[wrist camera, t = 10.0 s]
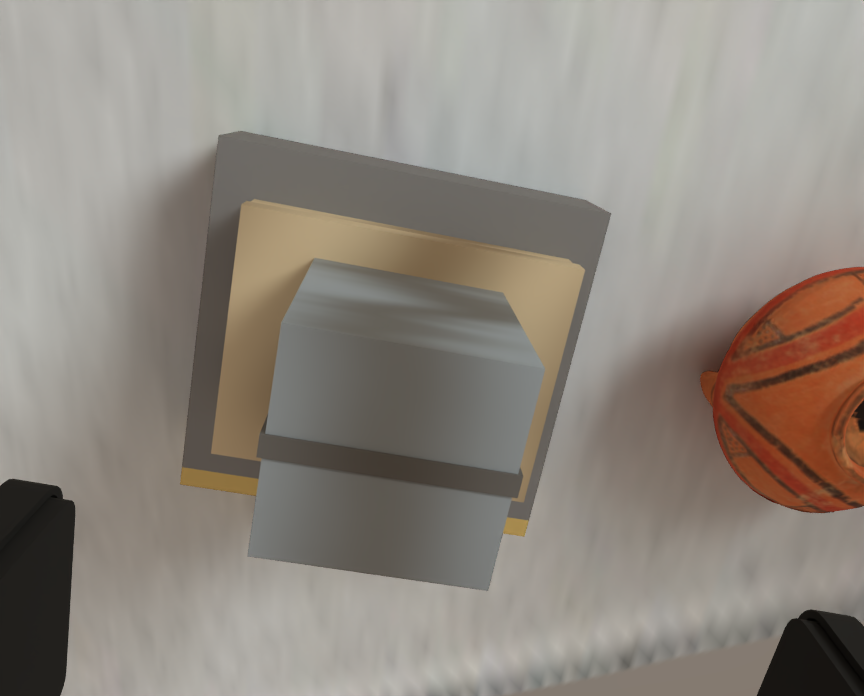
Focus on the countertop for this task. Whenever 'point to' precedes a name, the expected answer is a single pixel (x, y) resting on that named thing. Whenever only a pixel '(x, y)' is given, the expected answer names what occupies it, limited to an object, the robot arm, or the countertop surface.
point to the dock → (383, 203)
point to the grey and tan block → (387, 389)
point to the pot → (797, 396)
